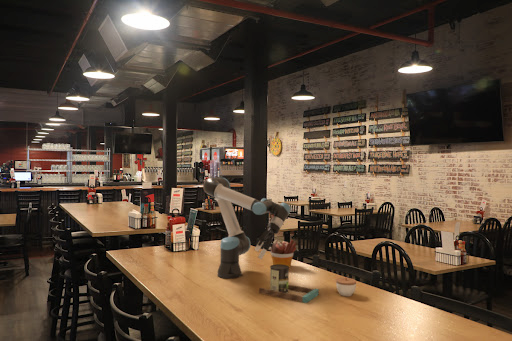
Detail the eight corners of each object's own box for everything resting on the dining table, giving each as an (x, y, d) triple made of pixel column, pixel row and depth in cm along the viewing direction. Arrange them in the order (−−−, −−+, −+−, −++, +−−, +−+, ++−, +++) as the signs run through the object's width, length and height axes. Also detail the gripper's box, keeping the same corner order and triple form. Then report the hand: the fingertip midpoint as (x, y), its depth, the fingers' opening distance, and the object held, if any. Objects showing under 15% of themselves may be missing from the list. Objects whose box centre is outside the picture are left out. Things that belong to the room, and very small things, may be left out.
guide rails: (259, 293, 214) (259, 288, 214) (273, 285, 227) (273, 281, 227) (306, 303, 199) (306, 298, 199) (318, 294, 212) (318, 290, 212)
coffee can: (289, 289, 220) (289, 264, 220) (287, 295, 210) (287, 269, 210) (271, 288, 222) (271, 263, 222) (268, 294, 212) (268, 268, 212)
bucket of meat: (264, 265, 274) (264, 237, 274) (280, 262, 285) (281, 234, 285) (284, 271, 259) (285, 241, 259) (301, 267, 270) (301, 238, 270)
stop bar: (302, 302, 200) (302, 296, 200) (315, 294, 214) (315, 288, 213) (306, 303, 199) (306, 297, 199) (318, 294, 212) (318, 289, 212)
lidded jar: (341, 298, 207) (341, 280, 207) (332, 292, 217) (332, 275, 217) (359, 296, 210) (360, 279, 210) (349, 290, 220) (350, 274, 220)
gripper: (278, 219, 232) (260, 250, 224) (282, 235, 253) (266, 263, 245) (267, 214, 235) (249, 244, 227) (272, 230, 256) (255, 258, 248)
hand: (257, 254), depth 236 cm, fingers open, 13 cm apart
